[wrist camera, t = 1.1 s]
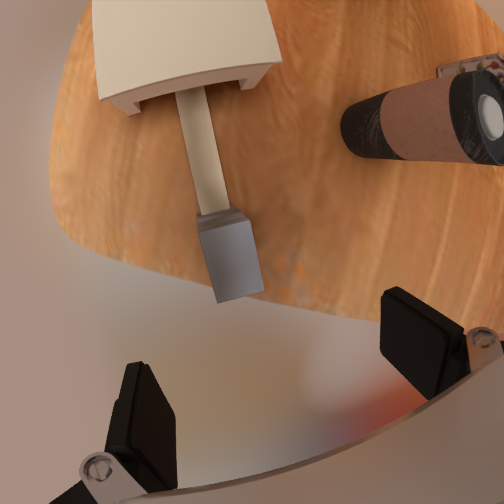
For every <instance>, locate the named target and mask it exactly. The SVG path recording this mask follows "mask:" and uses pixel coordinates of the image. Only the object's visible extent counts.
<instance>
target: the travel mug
mask: <svg viewBox="0 0 504 504" xmlns="http://www.w3.org/2000/svg"><path fill="white" fill-rule="evenodd" d="M341 133H342V137H343V139H344V142H345V143H346V145H347V146H348V148H349V149H350V150H351V151H352V152H353V153H355V154H356V155H358V156H361V157H365V158H377V159H394V160H408V161H439V162H459V163H473V164H485V165H496V166H504V85H503V84H502V82H501V81H500V80H499V79H498V77H497V76H496V75H495V74H493V73H492V72H490V71H489V70H486V69H481V70H475V71H469V72H464V73H459V74H454V75H449V76H444V77H440V78H435V79H431V80H427V81H423V82H419V83H415V84H411V85H407V86H403V87H400V88H396V89H393V90H390V91H388V92H385V93H382V94H379V95H377V96H374V97H371V98H369V99H366V100H364V101H361V102H359V103H356V104H354V105H352V106H350V107H349V108H348V109H347V110H346V111H345V113H344V114H343V117H342V120H341Z"/></svg>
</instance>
